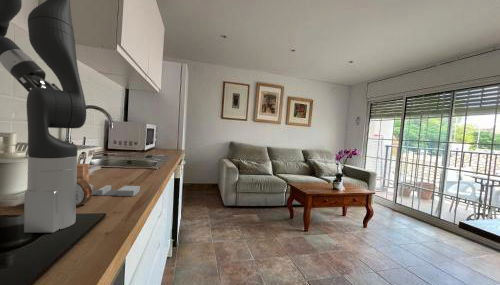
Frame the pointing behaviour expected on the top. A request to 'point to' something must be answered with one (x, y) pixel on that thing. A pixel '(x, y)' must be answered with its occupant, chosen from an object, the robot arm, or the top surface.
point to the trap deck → (116, 191)
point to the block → (83, 171)
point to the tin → (82, 192)
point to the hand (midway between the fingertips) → (61, 106)
